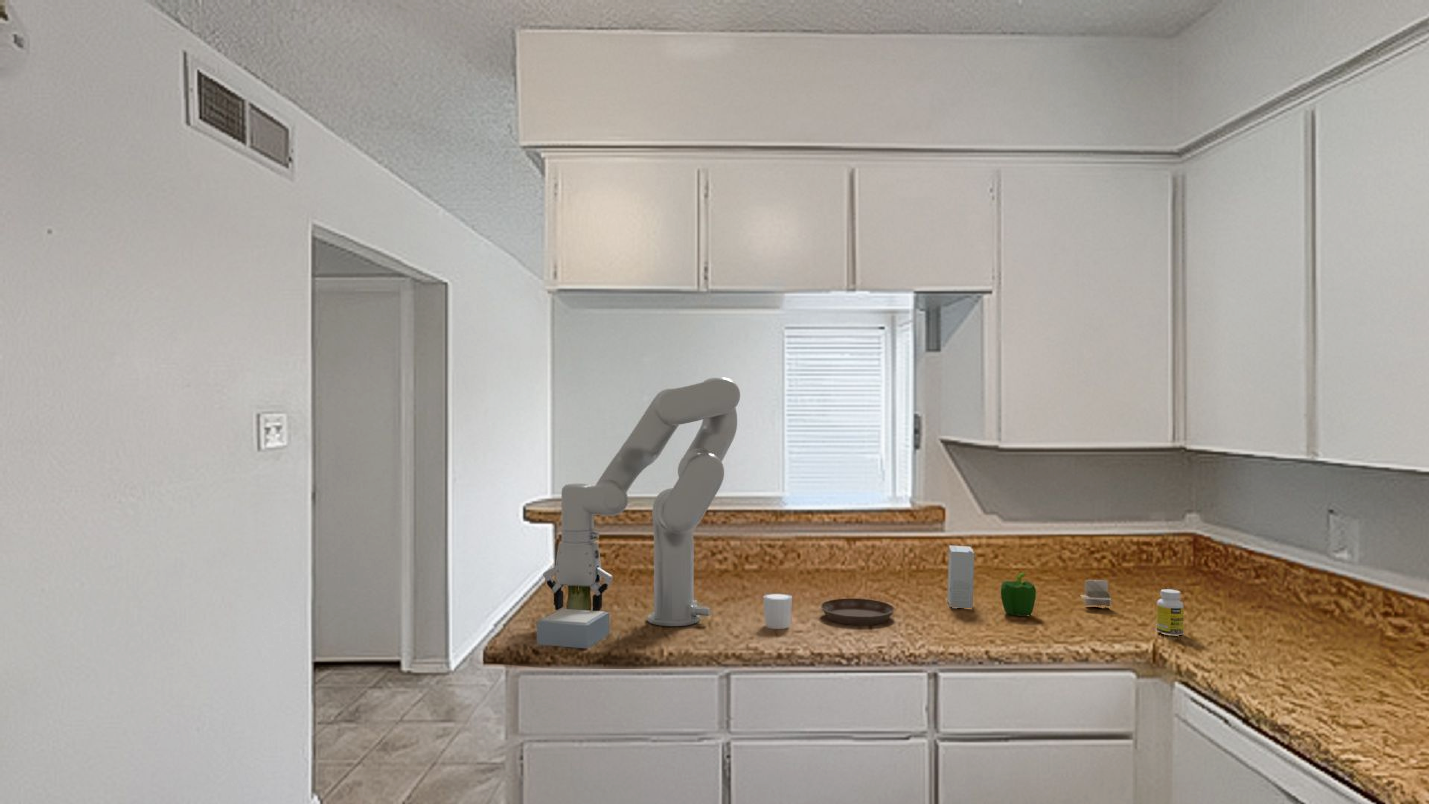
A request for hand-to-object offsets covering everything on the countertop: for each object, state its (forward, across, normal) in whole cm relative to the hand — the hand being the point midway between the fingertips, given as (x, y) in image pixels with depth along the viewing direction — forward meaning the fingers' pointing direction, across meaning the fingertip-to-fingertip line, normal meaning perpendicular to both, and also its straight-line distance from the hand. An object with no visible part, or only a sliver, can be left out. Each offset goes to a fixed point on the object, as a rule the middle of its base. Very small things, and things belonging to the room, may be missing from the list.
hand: (577, 609), depth 214 cm
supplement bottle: (+4, -132, -30) cm, 135 cm away
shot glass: (+4, -45, -13) cm, 47 cm away
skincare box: (+4, -86, -46) cm, 98 cm away
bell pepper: (+4, -100, -40) cm, 108 cm away
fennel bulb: (+4, 0, 0) cm, 4 cm away
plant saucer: (+4, -62, -26) cm, 67 cm away
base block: (+4, -4, +11) cm, 12 cm away
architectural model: (+4, -120, -52) cm, 130 cm away
